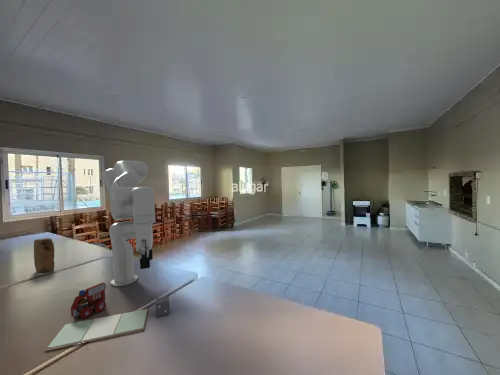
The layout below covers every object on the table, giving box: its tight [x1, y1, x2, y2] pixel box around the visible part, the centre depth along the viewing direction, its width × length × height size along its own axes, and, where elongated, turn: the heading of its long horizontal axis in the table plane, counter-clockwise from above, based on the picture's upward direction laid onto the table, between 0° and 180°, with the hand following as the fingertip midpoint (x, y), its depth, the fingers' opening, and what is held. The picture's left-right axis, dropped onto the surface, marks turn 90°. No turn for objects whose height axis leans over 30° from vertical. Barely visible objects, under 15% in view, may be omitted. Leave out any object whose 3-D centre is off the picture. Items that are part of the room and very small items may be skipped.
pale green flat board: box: [47, 308, 149, 347], centre depth 83 cm, size 14×28×1 cm, turn 108°
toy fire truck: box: [70, 282, 107, 320], centre depth 93 cm, size 7×12×10 cm, turn 149°
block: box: [33, 237, 55, 273], centre depth 145 cm, size 11×8×20 cm
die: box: [155, 295, 171, 318], centre depth 91 cm, size 5×5×5 cm
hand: (146, 263), depth 89 cm, fingers open, 9 cm apart
